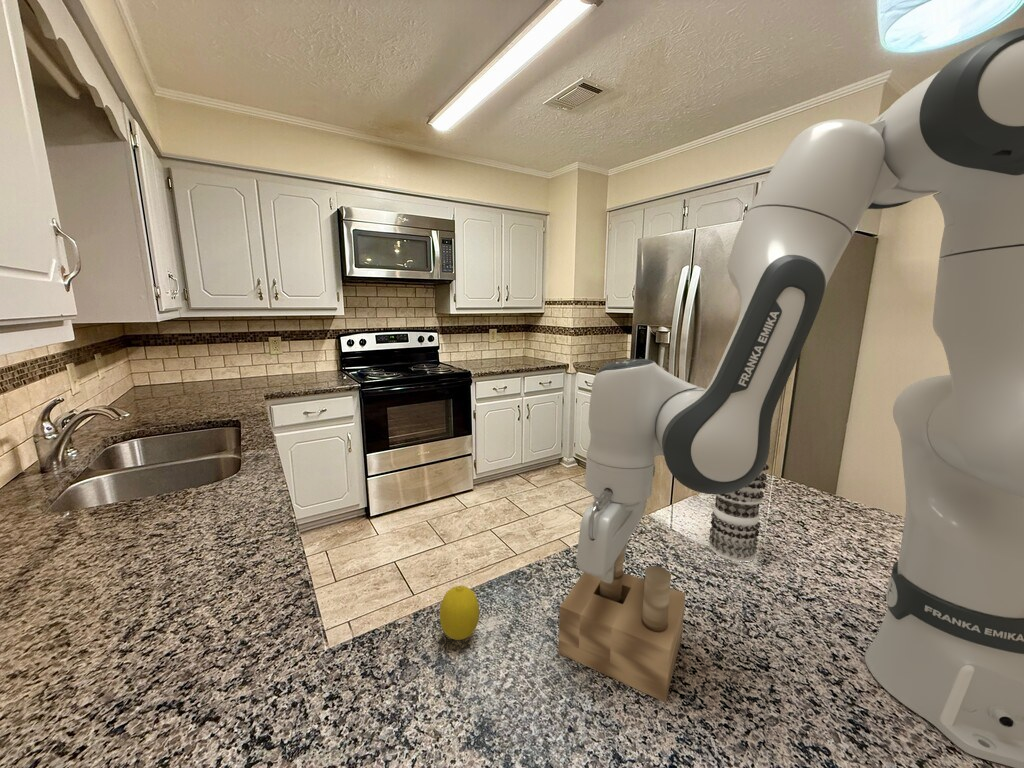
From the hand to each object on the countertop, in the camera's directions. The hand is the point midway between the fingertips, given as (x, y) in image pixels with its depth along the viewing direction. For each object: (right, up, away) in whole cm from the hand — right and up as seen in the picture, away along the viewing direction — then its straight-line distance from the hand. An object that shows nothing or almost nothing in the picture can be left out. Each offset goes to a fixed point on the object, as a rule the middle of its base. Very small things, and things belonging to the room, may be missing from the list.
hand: (612, 571), depth 58 cm
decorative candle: (+30, -7, +24) cm, 39 cm away
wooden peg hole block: (+1, -10, 0) cm, 10 cm away
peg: (0, -5, +1) cm, 5 cm away
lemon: (-22, -10, 0) cm, 24 cm away
